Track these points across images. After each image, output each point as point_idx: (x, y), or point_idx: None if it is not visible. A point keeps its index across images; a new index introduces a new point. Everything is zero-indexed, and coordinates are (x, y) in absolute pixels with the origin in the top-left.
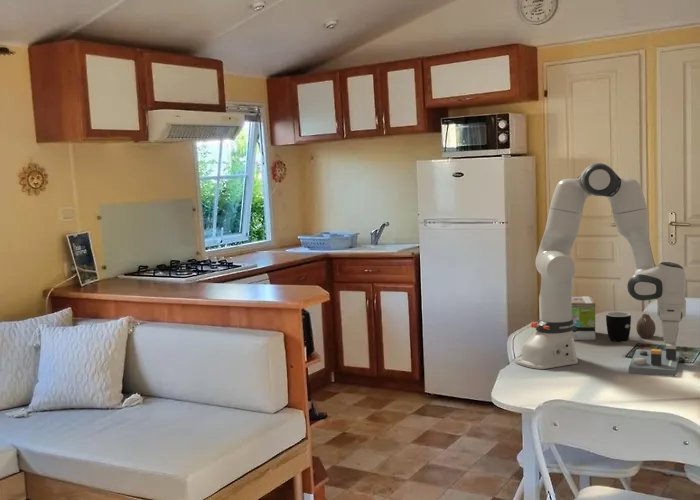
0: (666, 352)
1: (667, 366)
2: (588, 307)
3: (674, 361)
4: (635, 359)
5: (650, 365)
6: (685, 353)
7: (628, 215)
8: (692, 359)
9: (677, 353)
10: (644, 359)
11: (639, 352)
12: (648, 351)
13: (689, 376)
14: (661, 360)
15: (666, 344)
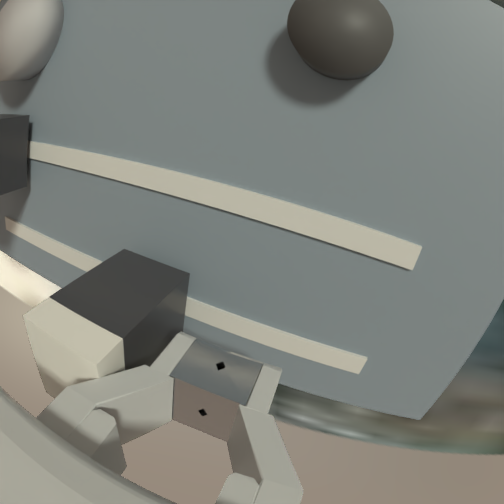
0: (80, 279)
1: (9, 213)
2: None
3: None
4: (8, 7)
5: (8, 109)
6: (487, 423)
7: None
8: (346, 430)
9: (368, 399)
10: (2, 65)
11: (445, 19)
12: (497, 142)
13: (25, 288)
14: (5, 190)
15: (65, 346)
